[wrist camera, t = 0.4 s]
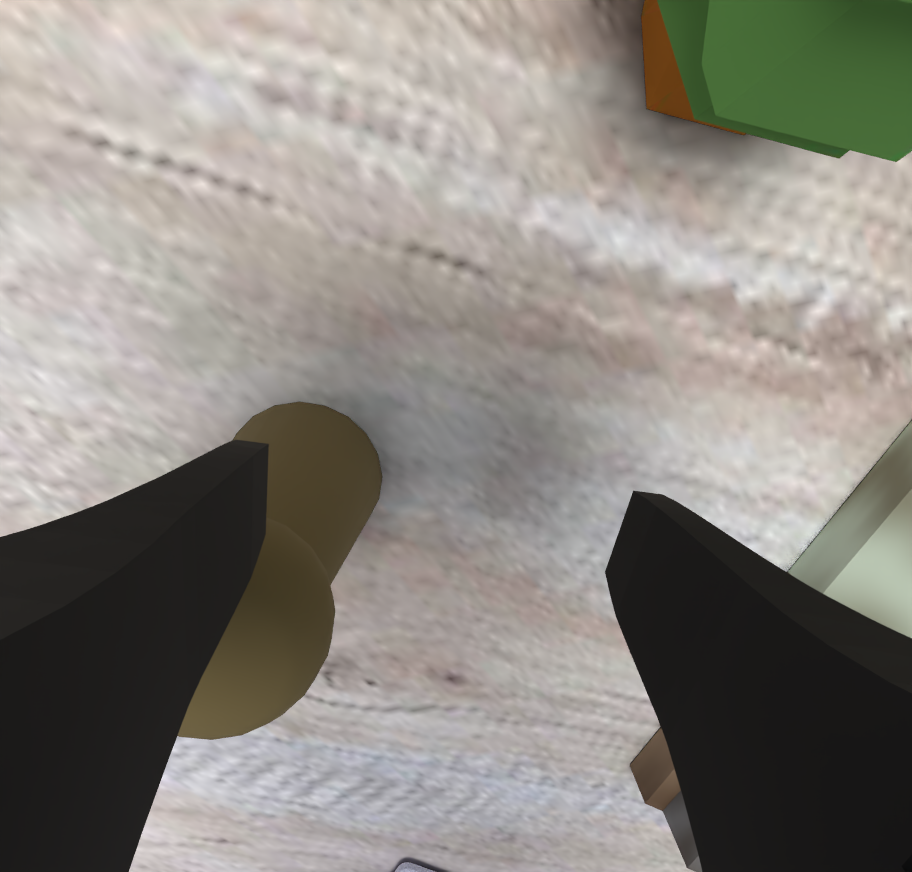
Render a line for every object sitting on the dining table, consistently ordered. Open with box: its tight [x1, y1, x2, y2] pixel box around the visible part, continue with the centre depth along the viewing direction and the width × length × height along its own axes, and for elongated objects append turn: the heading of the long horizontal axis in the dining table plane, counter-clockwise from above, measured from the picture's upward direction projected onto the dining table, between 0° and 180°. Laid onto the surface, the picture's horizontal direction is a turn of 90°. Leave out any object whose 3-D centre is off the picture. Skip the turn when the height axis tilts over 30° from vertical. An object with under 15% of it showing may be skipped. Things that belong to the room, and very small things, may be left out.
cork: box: [177, 402, 382, 740], centre depth 17 cm, size 6×6×11 cm
